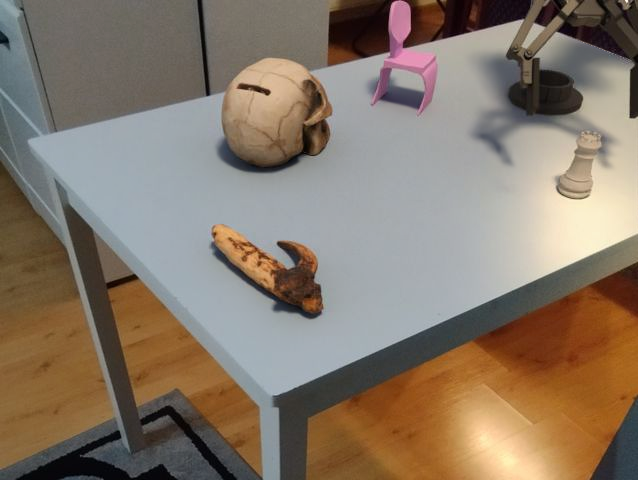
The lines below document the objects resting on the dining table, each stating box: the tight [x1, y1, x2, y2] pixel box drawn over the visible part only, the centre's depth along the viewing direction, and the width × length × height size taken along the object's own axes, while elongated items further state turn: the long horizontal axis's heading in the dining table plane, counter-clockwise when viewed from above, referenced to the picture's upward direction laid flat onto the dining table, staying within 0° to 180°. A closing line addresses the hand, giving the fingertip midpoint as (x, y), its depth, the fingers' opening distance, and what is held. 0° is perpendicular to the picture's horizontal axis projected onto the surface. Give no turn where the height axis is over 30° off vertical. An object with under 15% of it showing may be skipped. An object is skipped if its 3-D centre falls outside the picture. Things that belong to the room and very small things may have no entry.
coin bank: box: [220, 57, 334, 168], centre depth 95 cm, size 16×17×13 cm
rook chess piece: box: [557, 130, 603, 200], centre depth 89 cm, size 4×4×8 cm
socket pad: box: [507, 68, 584, 116], centre depth 113 cm, size 12×12×4 cm
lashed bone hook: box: [211, 223, 325, 315], centre depth 76 cm, size 9×5×18 cm
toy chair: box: [370, 0, 439, 116], centre depth 106 cm, size 8×9×15 cm
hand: (584, 113), depth 88 cm, fingers open, 13 cm apart
